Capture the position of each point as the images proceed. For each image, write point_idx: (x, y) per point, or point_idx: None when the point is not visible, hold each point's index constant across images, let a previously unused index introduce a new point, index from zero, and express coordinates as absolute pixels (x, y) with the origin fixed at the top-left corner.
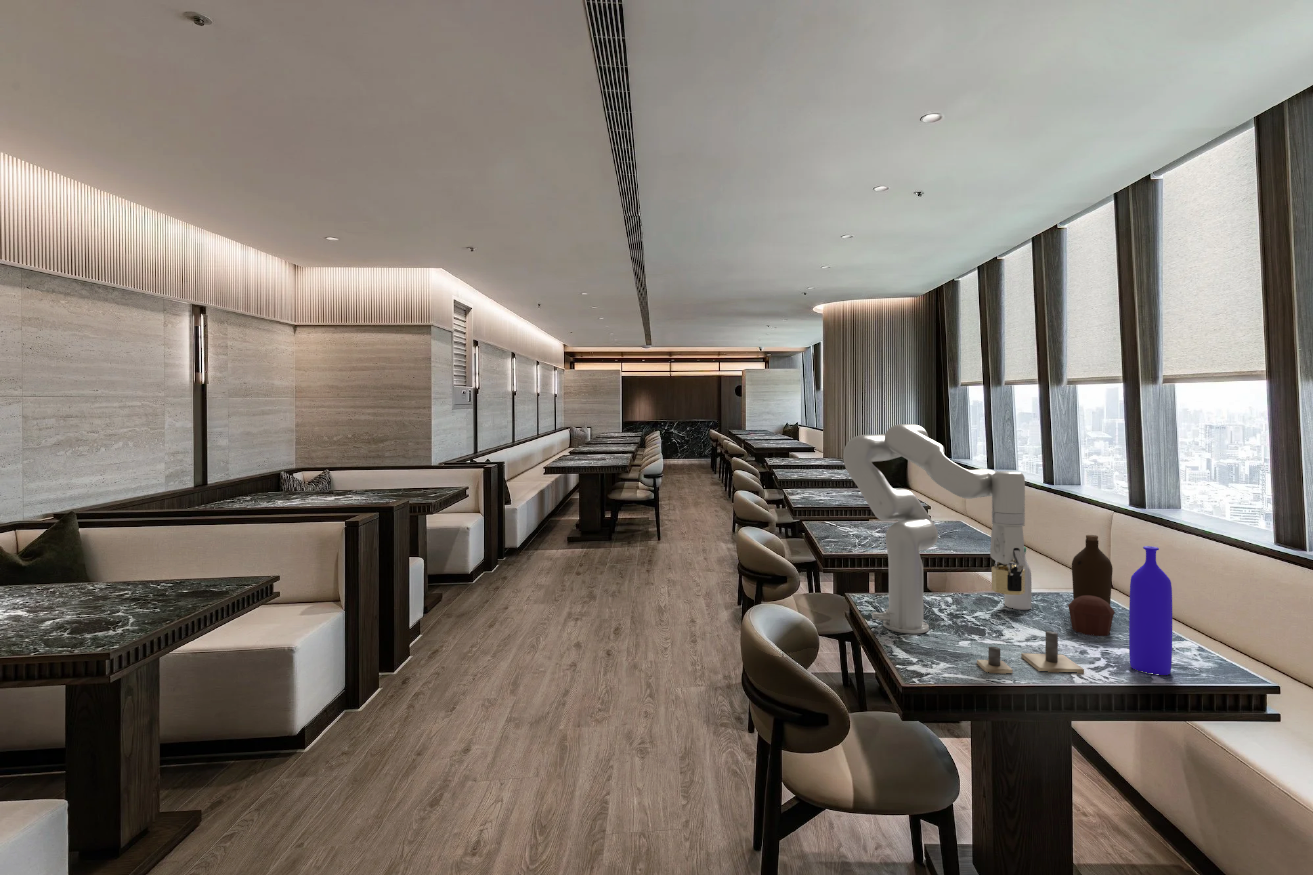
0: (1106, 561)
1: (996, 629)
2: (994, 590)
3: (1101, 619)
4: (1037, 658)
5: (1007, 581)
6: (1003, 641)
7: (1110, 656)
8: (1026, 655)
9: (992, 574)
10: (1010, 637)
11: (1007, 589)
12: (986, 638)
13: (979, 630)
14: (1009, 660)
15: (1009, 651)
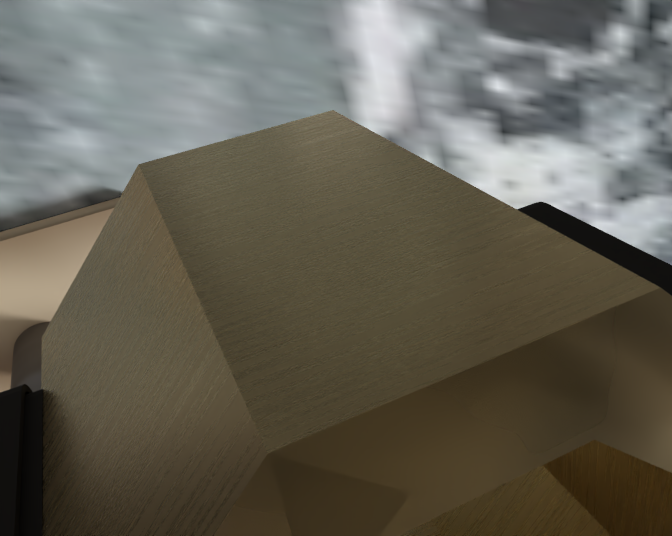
0: None
1: (589, 114)
2: (215, 147)
3: None
4: (59, 283)
5: (3, 508)
6: (400, 125)
7: None
8: (96, 227)
9: (451, 215)
10: (473, 170)
11: (19, 386)
12: (434, 31)
13: (569, 13)
14: (16, 114)
15: (219, 137)
